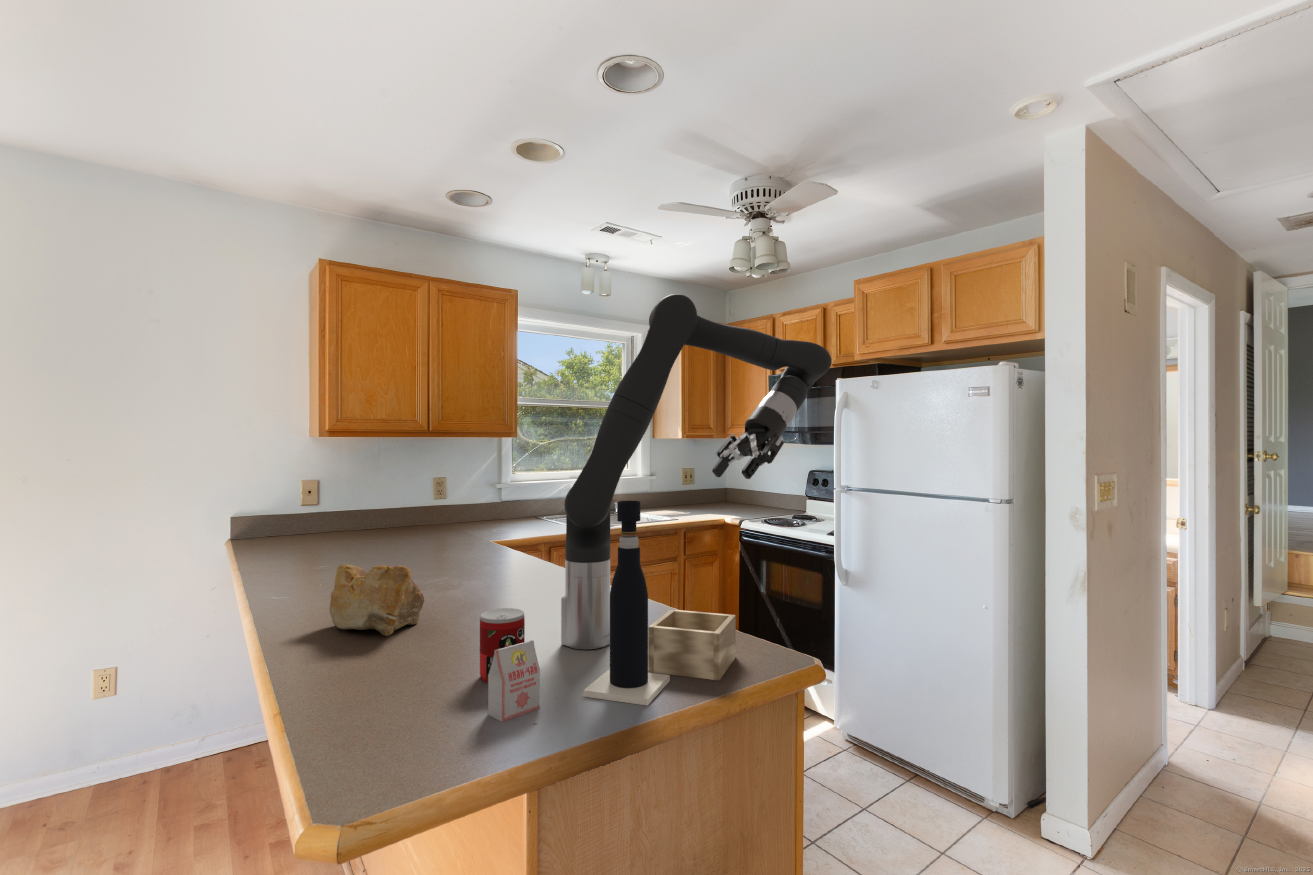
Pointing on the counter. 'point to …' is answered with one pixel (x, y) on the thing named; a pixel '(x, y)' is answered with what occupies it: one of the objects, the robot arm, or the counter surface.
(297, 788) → the counter surface
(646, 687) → the cream tile
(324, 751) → the counter surface
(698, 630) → the pine crate
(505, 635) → the canned food
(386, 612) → the rough brown rock
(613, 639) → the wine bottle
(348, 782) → the counter surface
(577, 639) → the robot arm
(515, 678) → the white paper bag
